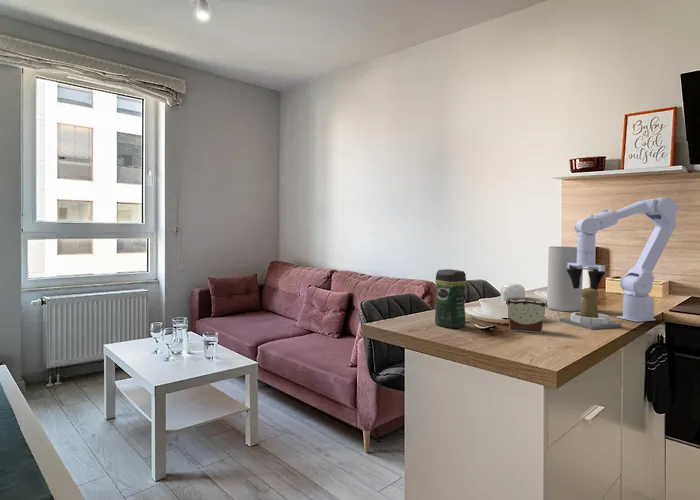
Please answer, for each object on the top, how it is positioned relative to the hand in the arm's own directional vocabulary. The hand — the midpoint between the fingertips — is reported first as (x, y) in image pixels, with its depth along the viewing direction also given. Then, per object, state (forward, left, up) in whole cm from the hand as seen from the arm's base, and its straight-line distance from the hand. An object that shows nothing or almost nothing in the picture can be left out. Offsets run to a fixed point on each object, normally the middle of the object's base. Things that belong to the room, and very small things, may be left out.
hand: (584, 289), depth 158 cm
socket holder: (+6, +8, -10) cm, 14 cm away
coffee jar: (+53, -4, -11) cm, 54 cm away
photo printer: (+24, -9, -11) cm, 28 cm away
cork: (+6, +8, -10) cm, 14 cm away
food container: (+33, +8, -11) cm, 36 cm away
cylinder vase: (-8, -17, -11) cm, 22 cm away
